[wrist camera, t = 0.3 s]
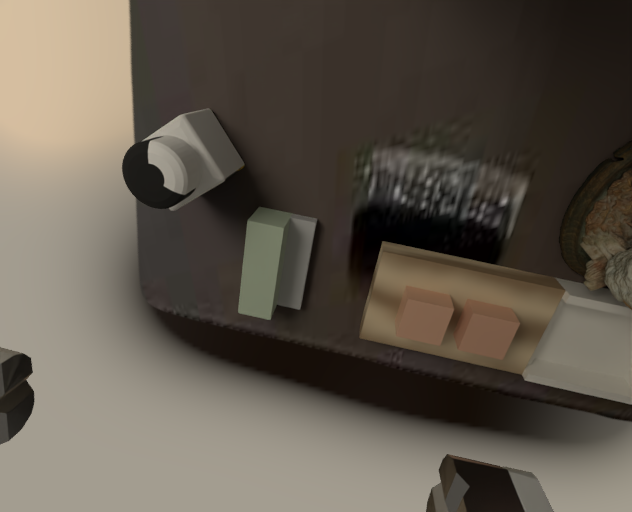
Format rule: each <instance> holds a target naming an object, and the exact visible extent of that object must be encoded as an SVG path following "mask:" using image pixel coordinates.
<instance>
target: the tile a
mask: <svg viewBox="0 0 632 512" xmlns="http://www.w3.org/2000/svg"><path fill="white" fill-rule="evenodd" d="M453 311H454V306H453V303H452V300H451V297H450V295H448V294H444V293H439V292H434V291H430V290H425V289H421V288H416V287H411V286H407V285H406V287H405V290H404V293H403V297H402V300H401V303H400V306H399V309H398V312H397V316H396V319H395V331H396V336H397V337H402V338H406V339H411V340H415V341H420V342H424V343H429V344H433V345H437V346H440V345H441V342H442V340H443V337H444V335H445V332H446V329H447V327H448V324H449V322H450V319H451V316H452V314H453Z"/></svg>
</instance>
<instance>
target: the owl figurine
mask: <svg viewBox="0 0 632 512" xmlns="http://www.w3.org/2000/svg"><path fill="white" fill-rule="evenodd" d="M614 156H615V157H619V158H620V157H623V158H624V160H622V161H614V162H611V159H606V160H605V161H604V162H602V163H601V164H600V165H599V166H598V167H597V168H596V169H595V170H594V171H593V172H592V173H591V174H590V175H589V177H588V178H587V179H586V181H585V182H584V183H583V184H582V186H581V188H579V190H578V191H577V193H576V194H575V195H574V197H573V199H572V201H571V204H570V205H569V206H568V209H567V211H566V213H565V215H564V219H563V221H562V226H561V229H560V230H561V231H560V237H559V243H560V246H561V250H562V253H561V255H562V257H563V259H564V261H565V262H566V263H567V264H568V266H569V267H570V268H571V269H572V270H574V271H575V272H577V273H579V274H581V275H583V276H584V277H585V279H586V280H585V281H584V282H583V283H584V285H585V286H586V287H587V288H588V289H589V290H590V291H592V290H597V289H599V288H602V287H604V286H608V288H609V289H610V290H611V292H612V295H613V296H614V298H615V299H616V300H618V301H621V302H624V303H625V305H626V306H627V307H629V308H630V309H631V310H632V141H630V142H629V143H627V144H626V145H625V146H624V147H622V148H619V149H618V150H616V151H615V152H614Z"/></svg>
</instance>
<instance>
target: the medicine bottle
mask: <svg viewBox="0 0 632 512" xmlns="http://www.w3.org/2000/svg"><path fill="white" fill-rule="evenodd" d="M244 165H245V164H244V162H243V160H242V159H241V157H240V155H239V154H238V152H237V151H236V149H235V147H234V146H233V144H232V143H231V141H230V139H229V138H228V136H227V134H226V133H225V131H224V130H223V128H222V126H221V125H220V123H219V122H218V120H217V118H216V117H215V115H214V113H213V112H212V110H211V109H204V110H199V111H195V112H190V113H186V114H182V115H179V116H178V117H177V118H175V119H174V120H172V121H171V122H169V123H168V124H166V125H165V126H163V127H162V128H160V129H159V130H158V131H156V132H155V133H153V134H152V135H150V136H149V137H147V138H146V139H144V140H143V141H141V142H139V143H136V144H134V145H133V146H132V147H130V149H129V150H128V151H127V153H126V154H125V156H124V159H123V165H122V171H123V177H124V180H125V182H126V185H127V187H128V188H129V190H130V191H131V193H132V194H133V195H134V196H135V197H136V198H137V199H138V200H139V201H141V202H142V203H144V204H146V205H148V206H150V207H153V208H158V209H166V208H169V209H170V210H171V211H175V210H177V209H178V208H180V207H182V206H183V205H185V204H187V203H189V202H190V201H192V200H194V199H195V198H197V197H199V196H200V195H202V194H204V193H206V192H207V191H209V190H211V189H212V188H214V187H216V186H218V185H219V184H221V183H223V182H224V181H226V180H227V179H228V178H230V177H231V176H232V175H234V174H235V173H237V172H238V171H239V170H241V169H242V168H243V167H244Z"/></svg>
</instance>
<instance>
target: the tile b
mask: <svg viewBox="0 0 632 512" xmlns="http://www.w3.org/2000/svg"><path fill="white" fill-rule="evenodd" d="M519 325H520V322H519V320H518V319H517V317H516V315H515V313H514V312H513V310H512V308H508V307H503V306H499V305H494V304H490V303H485V302H480V301H476V300H471V299H467V301H466V303H465V306H464V308H463V311H462V313H461V316H460V318H459V321H458V323H457V326H456V328H455V331H454V333H453V335H454V339H455V342H456V345H457V349H458V350H460V351H464V352H469V353H473V354H478V355H482V356H487V357H491V358H496V359H500V360H503V358H504V356H505V354H506V352H507V350H508V348H509V346H510V344H511V342H512V340H513V338H514V336H515V334H516V331H517V329H518V327H519Z"/></svg>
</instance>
